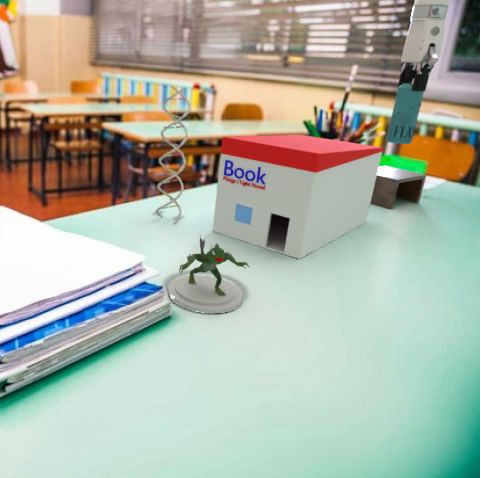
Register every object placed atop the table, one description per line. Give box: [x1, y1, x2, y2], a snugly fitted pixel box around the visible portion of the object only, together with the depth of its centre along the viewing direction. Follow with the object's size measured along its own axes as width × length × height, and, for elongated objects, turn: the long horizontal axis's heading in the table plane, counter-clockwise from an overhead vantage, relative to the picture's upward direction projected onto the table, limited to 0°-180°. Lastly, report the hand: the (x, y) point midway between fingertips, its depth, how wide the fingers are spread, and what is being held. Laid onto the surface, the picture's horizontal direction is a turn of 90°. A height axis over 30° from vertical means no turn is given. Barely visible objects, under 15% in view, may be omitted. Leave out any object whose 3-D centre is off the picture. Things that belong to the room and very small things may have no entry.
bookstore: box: [212, 134, 385, 260], centre depth 110 cm, size 21×35×21 cm, turn 135°
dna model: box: [155, 85, 192, 225], centre depth 109 cm, size 7×6×30 cm
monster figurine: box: [167, 235, 250, 314], centre depth 79 cm, size 12×12×10 cm
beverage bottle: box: [385, 69, 425, 145], centre depth 130 cm, size 6×7×20 cm
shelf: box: [370, 165, 427, 210], centre depth 137 cm, size 12×14×8 cm
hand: (410, 89), depth 128 cm, fingers closed on beverage bottle, 6 cm apart
